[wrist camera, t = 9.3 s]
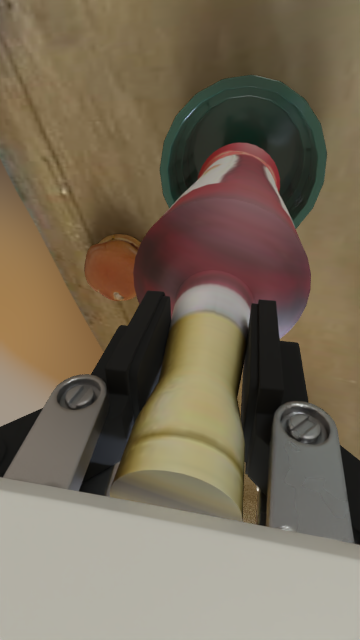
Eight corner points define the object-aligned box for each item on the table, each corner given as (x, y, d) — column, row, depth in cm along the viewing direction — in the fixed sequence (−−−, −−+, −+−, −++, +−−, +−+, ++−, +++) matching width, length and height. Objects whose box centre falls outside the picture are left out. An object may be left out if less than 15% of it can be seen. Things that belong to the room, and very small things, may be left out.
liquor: (213, 123, 27) (-6, 297, 4) (298, 156, 27) (500, 486, 5) (185, 209, 31) (-1, 522, 9) (258, 237, 32) (263, 615, 9)
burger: (133, 222, 47) (122, 234, 43) (164, 278, 51) (156, 293, 47) (79, 248, 51) (65, 261, 47) (112, 298, 55) (101, 313, 51)
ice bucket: (223, 45, 35) (214, 32, 27) (343, 132, 37) (366, 143, 29) (156, 182, 44) (135, 201, 36) (256, 245, 46) (256, 277, 38)
